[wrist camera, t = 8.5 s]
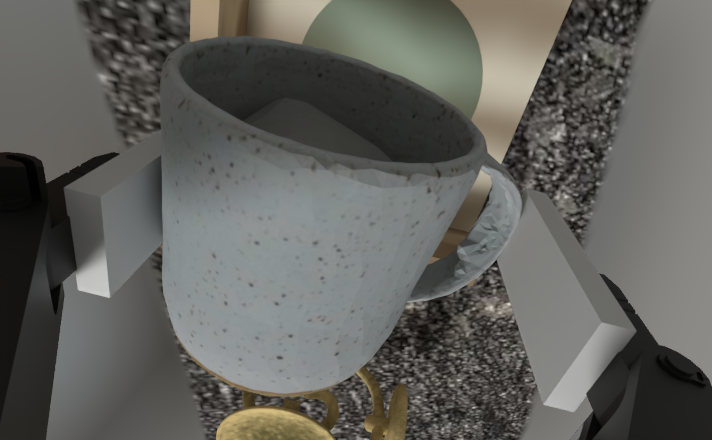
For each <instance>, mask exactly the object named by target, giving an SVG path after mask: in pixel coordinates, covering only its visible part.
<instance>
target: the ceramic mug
mask: <svg viewBox="0 0 712 440" xmlns="http://www.w3.org/2000/svg"><path fill="white" fill-rule="evenodd" d="M160 108H161V134H162V149H161V168H162V221H163V267H162V281H163V292H164V297H165V300H166V304H167V307H168V311H169V315H170V319H171V322H172V325H173V328H174V330H175V333H176V335H177V338H178V340H179V341H180V343H181V344H182V346H183V347H184V349H185V350H186V351H187V353H188V354H189V355H190V356H191V358H192V359H193V360H194V361H195V362H196V363H197V364H198V365H200V366H201V367H202V368H204V369H205V370H206V371H208V372H209V373H210V374H212V375H214V376H215V377H217V378H219V379H221V380H223V381H224V382H226V383H228V384H230V385H232V386H234V387H236V388H238V389H242V390H245V391H249V392H253V393H257V394H261V395H266V396H292V397H297V396H301V395H305V394H310V393H314V392H318V391H322V390H327V389H329V388H331V387H333V386H335V385H337V384H339V383H340V382H342V381H344V380H346V379H347V378H349V377H351V376H353V375H354V374H355V373H356V372H357V371H358V370H359V369H361V368H362V367H363V366H364V365H365V364H366V363H367V362H368V361H369V360H370V359H371V358H372V357H373V356H374V354H375V353H376V352H377V351H378V350H379V348H380V347H381V346H382V344H383V343H384V342H385V341H386V339H387V338H388V337H389V335H390V334H391V332H392V331H393V329H394V327H395V325H396V323H397V322H398V320H399V318H400V316H401V314H402V313H403V311H404V308H405V306H406V304H407V303H411V302H417V301H427V300H431V299H434V298H437V297H441V296H445V295H449V294H451V293H453V292H455V291H456V290H458V289H460V288H462V287H463V286H465V285H467V284H469V283H470V282H471V281H473V280H474V279H476V278H477V277H478V276H480V275H481V274H482V273H483V272H484V271H485V270H486V269H488V268H489V267H490V266H491V265H492V264H493V263H494V262H495V261H496V259H497V258H498V257H499V256H500V255H501V253H502V252H503V251H504V249H505V248H506V246H507V244H508V242H509V240H510V238H511V236H512V235H513V233H514V231H515V229H516V227H517V225H518V223H519V221H520V218H521V215H522V209H523V207H522V199H521V195H520V192H519V189H518V187H517V185H516V183H515V181H514V179H513V177H512V176H511V175H510V174H509V172H508V171H507V170H506V169H505V168H504V167H503V166H502V165H501V164H500V163H499V162H498V161H496V160H495V159H494V158H493V157H492V156H491V155H490V154H489V153H487V152H488V151H487V145H486V141H485V138H484V135H483V134H482V133H481V131H480V130H479V129H478V128H477V126H476V125H475V124H474V123H473V122H472V120H470V119H469V118H468V117H467V116H466V115H465V114H464V113H463V112H462V111H461V110H459V109H458V108H457V107H455V106H454V105H452V104H451V103H449V102H447V101H446V100H444V99H443V98H441V97H440V96H438V95H437V94H435V93H434V92H432V91H429V90H427V89H425V88H424V87H422V86H421V85H419V84H417V83H415V82H413V81H411V80H409V79H407V78H405V77H403V76H401V75H397V74H394V73H391V72H388V71H386V70H383V69H380V68H378V67H376V66H374V65H371V64H369V63H367V62H364V61H362V60H358V59H355V58H352V57H348V56H345V55H341V54H338V53H335V52H331V51H329V50H326V49H320V48H315V47H312V46H309V45H303V44H297V43H291V42H287V41H282V40H277V39H268V38H260V37H253V36H238V37H226V36H220V37H215V38H210V39H208V38H206V39H202V40H198V41H194V42H188V43H185V44H184V45H182V46H180V47H178V48H177V49H175V50H174V51H173V52H172V53H171V54H170V55H169V56H168V57H167V59H166V61H165V63H164V65H163V67H162V74H161V83H160ZM480 170H482V171H483V172H484V173H485V174H488V175H489V176H490V177H491V181H492V188H491V191H490V193H489V201H488V202H487V204H486V207H485V208H484V210H483V212H482V213H481V215H480V217H479V218H478V220H477V221H476V223H475V224H474V225H473V227H472V228H471V230H470V231H469V233H468V235H467V236H466V238H465V239H464V240H463V241H462V242H461V243H460V244H459V245H458V247H457V249H456V250H454V251H453V252H452V253H450V254H449V255H447V256H446V257H444V258H442V259H439V260H437V261H435V262H433V263H431V264H428V263H429V261H430V259H431V258H432V256H433V254H434V252H435V251H436V249H437V247H438V246H439V244H440V242H441V240H442V239H443V237H444V235H445V233H446V231H447V230H448V228H449V226H450V224H451V222H452V221H453V219H454V217H455V216H456V214H457V212H458V210H459V209H460V207H461V205H462V203H463V202H464V200H465V198H466V197H467V195H468V193H469V191H470V190H471V188H472V186H473V184H474V183H475V181H476V179H477V177H478V175H479V172H480ZM427 264H428V265H427Z"/></svg>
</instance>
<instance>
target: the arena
mask: <svg viewBox="0 0 712 440" xmlns="http://www.w3.org/2000/svg"><path fill="white" fill-rule="evenodd" d="M571 1H572V0H191V17H190V42H194V41H198V40H202V39H206V38H208V39H210V38H215V37H220V36H226V37H238V36H253V37H260V38H268V39H277V40H282V41H287V42H291V43H297V44H303V45H309V46H312V47H315V48H320V49H326V50H329V51H331V52H335V53H338V54H341V55H345V56H348V57H352V58H355V59H358V60H362V61H364V62H367V63H369V64H371V65H374V66H376V67H378V68H380V69H383V70H386V71H388V72H391V73H394V74H397V75H401V76H403V77H405V78H407V79H409V80H411V81H413V82H415V83H417V84H419V85H421V86H422V87H424V88H425V89H427V90H429V91H432V92H434V93H435V94H437V95H438V96H440V97H441V98H443V99H444V100H446V101H447V102H449V103H451V104H452V105H454V106H455V107H457V108H458V109H459V110H461V111H462V112H463V113H464V114H465V115H466V116H467V117H468V118H469V119H470V120H472V122H473V123H474V124H475V125H476V126H477V128H478V129H479V130H480V131H481V133H482V134H483V135H484V138H485V141H486V145H487V151H488V152H487V153H489V154H490V155H491V156H492V157H493V158H494V159H495V160H496V161H498V162H499V163H500V164H501V163H502V161H503V158H504V156H505V154H506V152H507V149H508V147H509V145H510V142H511V140H512V138H513V135H514V133H515V131H516V128H517V126H518V124H519V121H520V119H521V117H522V115H523V112H524V110H525V108H526V105H527V103H528V101H529V98H530V96H531V94H532V91H533V89H534V87H535V84H536V82H537V80H538V78H539V75H540V73H541V71H542V68H543V66H544V64H545V61H546V59H547V57H548V54H549V52H550V50H551V47H552V45H553V43H554V41H555V38H556V36H557V34H558V31H559V29H560V27H561V24H562V22H563V20H564V17H565V15H566V13H567V10H568V8H569V6H570V3H571ZM491 186H492V181H491V177H490V176H489V175H488V174H485V173H484V172H483V171H482V170H480V172H479V175H478V177H477V179H476V181H475V183H474V184H473V186H472V188H471V190H470V191H469V193H468V195H467V197H466V198H465V200H464V202H463V203H462V205H461V207H460V209H459V210H458V212H457V214H456V216H455V217H454V219H453V221H452V222H451V224H450V226H449V228H448V230H447V231H446V233H445V235H444V237H443V239H442V240H441V242H440V244H439V246H438V247H437V249H436V251H435V252H434V254H433V256H432V258H431V259H430V261H429V263H428V264H431V263H433V262H435V261H437V260H439V259H442V258H444V257H446V256H447V255H449V254H450V253H452V252H453V251H454V250H456V249H457V247H458V245H459V244H460V243H461V242H462V241H463V240H464V239H465V238H466V236H467V235H468V233H469V231H470V230H471V228H472V227H473V225H474V224H475V223H476V221H477V219H478V216H479V214H480V212H481V209H482V207H483V205H484V202H485V200H486V198H487V196H488V193H489V191H490V189H491ZM428 264H427V265H428ZM475 280H476V279H474V280H473V281H471V282H470V283H469V284H467V285H470V286H473V284H474V282H475Z"/></svg>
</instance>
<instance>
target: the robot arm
mask: <svg viewBox="0 0 712 440" xmlns="http://www.w3.org/2000/svg"><path fill="white" fill-rule="evenodd" d="M161 149H162V134H161V130H160V131H158V132H157V133H155V134H153V135H152V136H150V137H148V138H147V139H145V140H143V141H142V142H140V143H138V144H136V145H135V146H133V147H131V148H130V149H128V150H126V151H125V152H123V153H121V154H119V153H115V152H113V153H109V154H105V155H101V156H97V157H94V158H92V159H90V160H88V161H87V162H85V163H83V164H81V166H80V167H79V166H77V167H76V168H74V169H72V170H70V172H69V173H65V174H63V175H61V176H60V177H58V178H56V179H54V180H52V181H50V182H49V183H47V184H46V180H45V174H44V167H43V164H42V161H41V160H39V159H37V158H36V157H34V156H30V155H26V154H21V153H10V152H3V153H0V440H46V434H47V425H48V418H49V411H50V403H51V395H52V387H53V380H54V371H55V364H56V356H57V349H58V341H59V333H60V325H61V317H62V309H63V302H64V290H63V283H62V282H63V281H64V280H65V279H66V278H67V277H69V276H70V274H72V273H73V272H74V271H76V278H77V285H78V290H80V291H84V292H88V293H92V294H96V295H100V296H104V297H108V298H110V297H111V296H112V295H113V294H114V293H115V292H116V291H117V290H118V289H119V288H120V287H121V286H122V285H123V283H124V282H125V281H126V280H127V279H128V278H129V277H130V276H131V275H132V274H133V273H134V272H135V271H136V270H137V269H138V268H139V267H140V266H141V265H142V263H144V261H145V260H146V259H147V258H148V257H149V256H150V255H151V254H152V253H153V252H154V251H155V250H156V249H157V248H158V247H159V246H160V245H161V244H162V242H163V221H162V168H161ZM521 199H522V207H523V209H522V215H521V218H520V221H519V223H518V225H517V227H516V229H515V231H514V233H513V235H512V236H511V238H510V240H509V242H508V244H507V246H506V248H505V249H504V251H503V252H502V253H501V255H500V256H499V257H498V258H497V262H498V265H499V268H500V271H501V274H502V277H503V281H504V284H505V287H506V290H507V293H508V296H509V299H510V302H511V306H512V309H513V312H514V315H515V318H516V321H517V324H518V327H519V331H520V334H521V337H522V340H523V343H524V346H525V349H526V352H527V355H528V359H529V362H530V365H531V368H532V371H533V374H534V377H535V380H536V384H537V387H538V390H539V393H540V396H541V399H542V402H543V405H547V406H551V407H555V408H560V409H563V410H567V411H571V412H574V411H575V410H576V409H577V407H578V406H579V405H580V404H581V402H582V401H583V400H584V398H585V397H586V396H587V397H588V399H589V402H590V404H591V406H592V409H593V412H592V413H591V414H590V415H589V417H588V418H587V419H586V420H585V422H584V423H583V424H582V426H581V427H580V428H579V429H578V430H577V432H576V433H575V434H574V435H573V436H572V438H571V439H570V440H712V386H711V384H710V381H709V379H708V378H707V376H706V375H705V374H704V373H703V371H702V370H701V369H700V368H699V367H697V366H696V365H695V364H694V363H693V362H691V360H689V359H687V358H686V357H684V356H683V355H681V354H680V353H678V352H676V351H674V350H672V349H669V348H667V347H665V346H660V345H658V343H657V342H656V340H655V339H654V338H653V336H652V335H651V334H650V332H649V330H648V329H647V327H646V326H645V324H644V323H643V322H642V320H641V319H640V317H639V316H638V315H637V314H635V310H634V309H633V307H632V306H631V304H630V303H628V300H627V299H626V297H625V296H624V294H623V293H622V291H621V290H620V289H619V287H617V286H616V285H615V284H614V283H613V282H612V281H611V280H609V279H608V278H607V277H606V276H605V275H603V274H599V273H598V271H597V270H596V268H595V267H594V265H593V264H592V262H591V261H590V259H589V258H588V256H587V255H586V253H585V252H584V250H583V248H582V247H581V245H580V244H579V242H578V241H577V239H576V238H575V236H574V235H573V233H572V232H571V230H570V229H569V227H568V226H567V224H566V223H565V221H564V220H563V218H562V217H561V215H560V214H559V212H558V211H557V209H556V207H555V206H554V204H553V203H552V201H551V200H550V198H549V197H548V195H547V194H545V193H541V192H538V191H534V190H530V189H526V188H525V190H524V192H523V194H522V196H521Z"/></svg>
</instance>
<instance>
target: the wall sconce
mask: <svg viewBox="0 0 712 440" xmlns="http://www.w3.org/2000/svg"><path fill="white" fill-rule="evenodd" d="M356 373H357V374H358V375H359V376H360V377H361V378H362V379H363V381H364V382H365V383H366V385H367V386H368V388H369V391H370V393H371V396H372V402H373V415H368V416H367V417H366V419H365V424H364V426H365V429H366V430H367V431H368V432H372V433H371V438H370V440H382V438H383V435H385V440H404V438H405V430H406V420H407V389H406V386H405V385H403V384H399V385H397V386H396V388H395V390H394V392H393V395H392V398H391V401H390V405H389V410H388V415H387V418H386V417H384V403H383V398H382V393H381V390H380V387H379V385H378V383H377V381H376V379H375V378H374V377H373V375H372V374H371V373H370V372H369V371H368V370H367V369H366V368H365V367H364V366H363V367H362V368H361V369H359V370H358V371H357V372H356ZM303 396H304V397H305V398H307V399H316V398H317V399H321V400H322V401H324V402H325V404H326V405H327V408H328V413H327V416H326V418H325V419H324V420H323V421H322V422H321V423H319V422H318V421H316V420H315V419H313V418H311V417H309V416H308V415H305V414H303V413H301V412H300V410H299V408H298V407H299V404H300V401H301V400H299V401H294V402H292V401H290V400H289V399H287V398H286V397H285V400H284V405H283V406H281V407H277V406H255V402H254V393H253V392H249V391H245V390H244V391H243V409H241V410H238V411H236V412H234V413H232V414H230V415H229V416H228V417H226V418H225V419H224V420H223V421H222V423H221V424H220V426H219V428H218V430H217V435H216V440H336V439H335V438H334V436H333V435H332V434H331V432H330V430H331V429H332V428H333V426H334V425H335V423H336V421H337V418H338V413H339V408H338V404H337V401H336V399H335V397H334V395H332V394H331V393H330V392H329V391H327V390H322V391H318V392H314V393H310V394H305V395H303Z"/></svg>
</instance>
